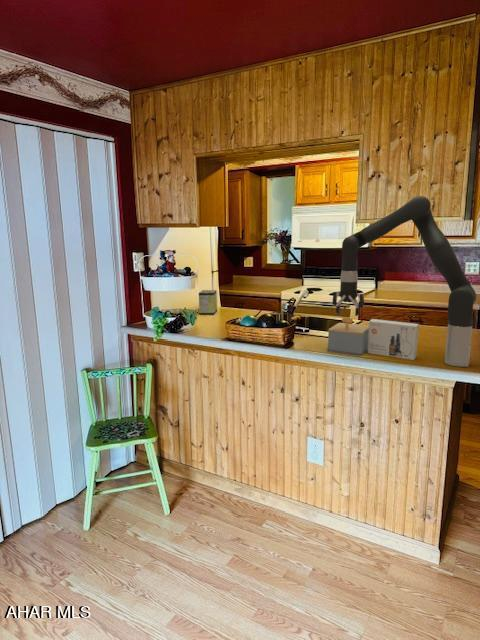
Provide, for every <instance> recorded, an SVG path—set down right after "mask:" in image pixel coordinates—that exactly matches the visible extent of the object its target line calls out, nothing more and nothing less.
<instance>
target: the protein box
mask: <svg viewBox="0 0 480 640" xmlns="http://www.w3.org/2000/svg"><path fill="white" fill-rule="evenodd" d="M217 296H218V293H217V289H202V290H200V292H198V310H199V312H198V313H199V314H198V315H199V316H214V315H216V313H217V312H218V299H217V298H218V297H217Z"/></svg>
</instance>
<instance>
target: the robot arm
mask: <svg viewBox="0 0 480 640" xmlns="http://www.w3.org/2000/svg"><path fill="white" fill-rule="evenodd" d="M410 221H412V223H413V224H414V226H415V227H416V229H417V230H418V232H419V234H420V237H421V240H422V242H423V245H424V248H425V250H426V253H427V254H428V256H429V258H430V261H431V263H432V264H433V266H434V267H435V269H436V271H438V272H439V273H440V275H441V276H442V277H443V278H444V280H445V282H446V284H447V286H448V288H449V289H450V294H449V296H448V303H447V305H448V306H447V333H446V343H445V354H444V355H445V356H444V363H445V365H449V366H452V367H466V368H469V365H470V355H471V346H472V335H473V334H472V333H473V324H474V320H473V310H474V304H475V303H476V301H477V293H476V290H475V289H474V288H473V286H472V285H471V283H470V281H469V280H468V279H467V277H466V275H465V273H464V271H463V270H462V266H461V264H460V262H459V260H458V258H457V255H456V254H455V251H454V249H453V248H452V245H451V243H450V242H449V240H448V238H447V237H446V235H445V234H444V233H443V231H442V230H441V229H440V228H439V227H438V225H437V223H436V220H435V219H434V216H433V213H432V211H431V201H430V200H429V198H427V197H426V196H424V195H418V196H414V197H413V198H411V199H410V200H408V201H407V203H405V204H404V205H402V206H401V207H399V208H398V209H397V210H394V211H393V212H391V213H390V214H388V215H387V216H384V217H382V218H381V219H378V220H377V221H375V222H373V223H371V224H369V225H367V226H366V227H364V228H362V229H361V230H359V231H357V232H355V233H353V234H351V235H349V236H347V237H345V238H344V239H343V240H342V244H341V255H342V257H341V258H342V259H341V260H342V261H341V273H340V286H339V290H340V291H339V292H338V291H334V292H333V295H332V303H331V304H332V306H335V308H336V309H335V313H336V314H337V315H341V305H342V303H343V302H344V303H351V304H353V305H354V307H355V312H354V313H355V314H354V315H355V317H358V316H359V315H360V312H361V311H360V310H361V308H362V307H364V306H365V294H364V293H362V292H361V293H358V276H359V275H358V266H359V264H358V252H359V249H360V248H361V247H363V246H365V245H368V244H369V243H370V244H371V243H372V242H374V241H376V240H378V239H380V238H382V237H383V236H385V235H387V234H388V233H390V232H392V231H393V230H394V229H396V228H397V227H400V226H401V225H403V224H406V223H407V222H410ZM338 297H339V298H340V299H339V300H338ZM357 298H358V299H359V302H358V300H357ZM337 300H338V301H337Z"/></svg>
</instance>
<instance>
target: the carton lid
mask: <svg viewBox="0 0 480 640" xmlns="http://www.w3.org/2000/svg"><path fill="white" fill-rule="evenodd" d="M341 321H342V322H338V323H336V324H334V325H333V326H332V327H330V328H328V331H335V332H344V333H353V334H363V333H365V332H366V331H367V330H368V329H369V324H367V325H366V324H357V323H356V324H355V323H353V322H354V320H353V318H349V317H343V318H342V319H341Z"/></svg>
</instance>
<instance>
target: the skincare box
mask: <svg viewBox="0 0 480 640" xmlns="http://www.w3.org/2000/svg"><path fill="white" fill-rule="evenodd" d="M368 326H369V336H368V350H367V354H373V355H378V356H386V357H390V358H398V359H403V360H404V359H405V360H411V361H412V360H413V361H415V359H416V358H417V353H418V352H417V351H418V343H419V342H418V341H419V328H420V327H419V326H420V324H419V323H414V322H413V323H412V322H406V321H405V322H404V321H403V322H402V321H394V320H384V319H378V318H377V319H376V318H371V319H370V320H369V321H368Z"/></svg>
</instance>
